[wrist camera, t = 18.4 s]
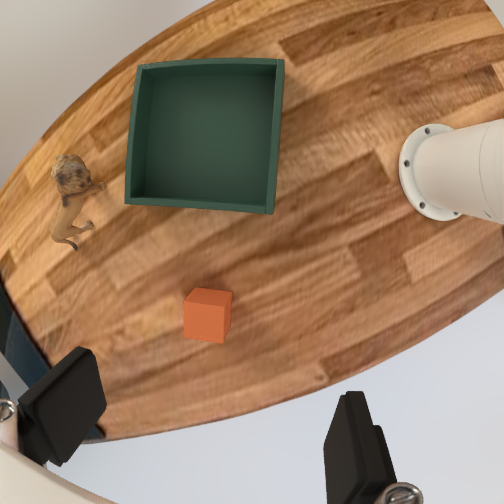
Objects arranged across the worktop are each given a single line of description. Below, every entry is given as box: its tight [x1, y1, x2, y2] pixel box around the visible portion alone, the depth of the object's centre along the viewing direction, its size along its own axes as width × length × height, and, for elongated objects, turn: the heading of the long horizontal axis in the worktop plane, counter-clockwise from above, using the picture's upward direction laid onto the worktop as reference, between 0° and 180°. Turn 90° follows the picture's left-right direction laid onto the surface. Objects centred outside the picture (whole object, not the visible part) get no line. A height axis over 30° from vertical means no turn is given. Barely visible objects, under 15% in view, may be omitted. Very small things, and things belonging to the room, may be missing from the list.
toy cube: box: [184, 287, 232, 344], centre depth 37 cm, size 5×5×5 cm
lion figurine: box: [50, 154, 105, 251], centre depth 34 cm, size 15×5×9 cm, turn 160°
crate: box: [124, 58, 285, 214], centre depth 33 cm, size 18×18×4 cm
